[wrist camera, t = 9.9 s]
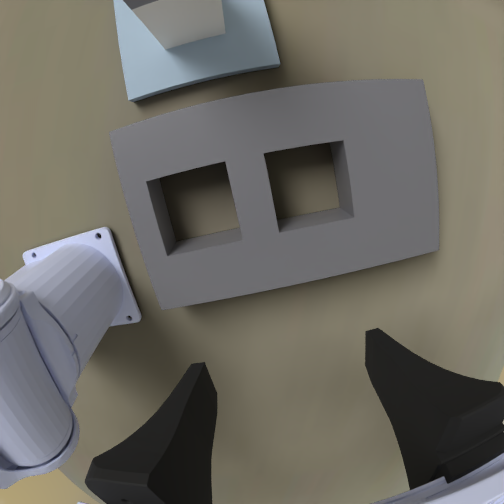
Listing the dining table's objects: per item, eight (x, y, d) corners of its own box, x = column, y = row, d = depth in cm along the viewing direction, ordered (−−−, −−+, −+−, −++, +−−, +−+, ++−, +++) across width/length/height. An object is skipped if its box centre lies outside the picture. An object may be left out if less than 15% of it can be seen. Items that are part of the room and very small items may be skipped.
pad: (133, 102, 18) (128, 100, 17) (117, -9, 15) (112, -13, 14) (278, 67, 18) (280, 63, 17) (248, -42, 14) (248, -48, 13)
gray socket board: (170, 290, 23) (161, 310, 20) (126, 133, 19) (108, 132, 16) (419, 237, 22) (438, 249, 19) (402, 85, 18) (422, 79, 15)
